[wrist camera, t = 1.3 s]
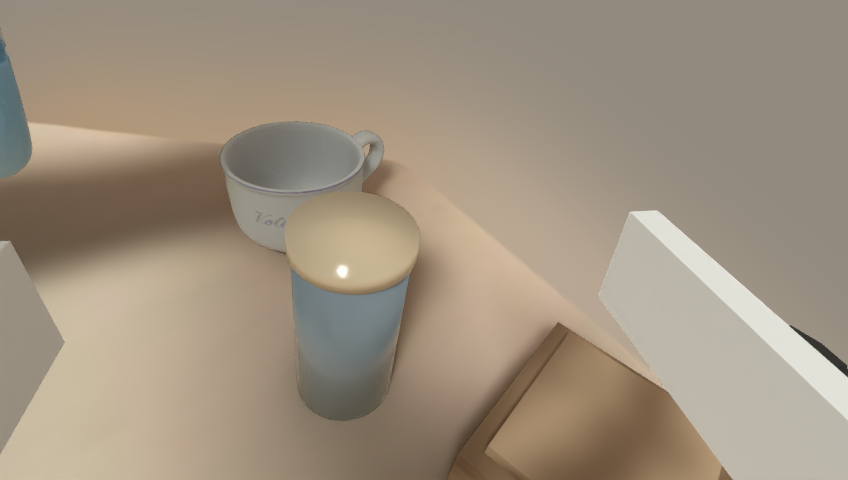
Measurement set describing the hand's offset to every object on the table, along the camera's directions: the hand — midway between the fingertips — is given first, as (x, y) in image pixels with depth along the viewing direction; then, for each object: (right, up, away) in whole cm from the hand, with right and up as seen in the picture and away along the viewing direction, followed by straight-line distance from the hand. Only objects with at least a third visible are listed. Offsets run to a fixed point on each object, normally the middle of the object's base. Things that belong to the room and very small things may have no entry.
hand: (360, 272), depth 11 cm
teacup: (-8, +2, +31) cm, 32 cm away
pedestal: (+11, -13, +17) cm, 24 cm away
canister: (-4, -8, +20) cm, 22 cm away
